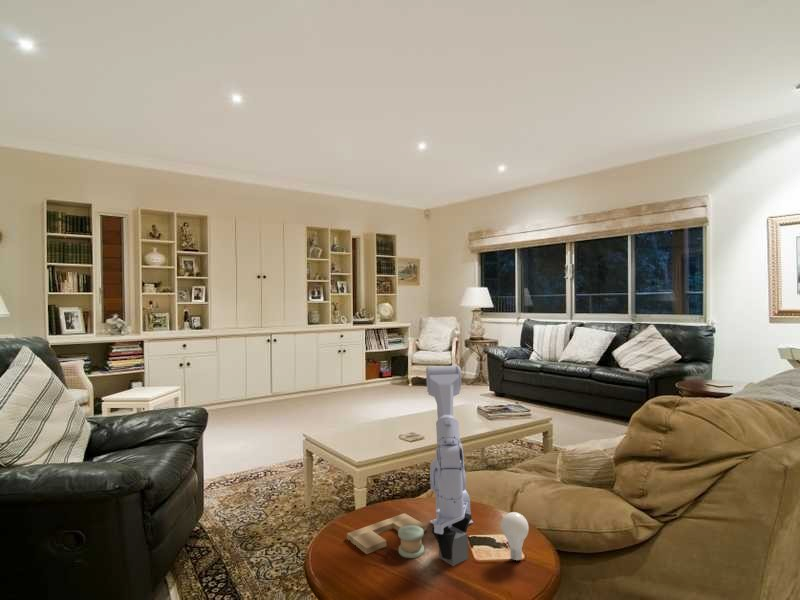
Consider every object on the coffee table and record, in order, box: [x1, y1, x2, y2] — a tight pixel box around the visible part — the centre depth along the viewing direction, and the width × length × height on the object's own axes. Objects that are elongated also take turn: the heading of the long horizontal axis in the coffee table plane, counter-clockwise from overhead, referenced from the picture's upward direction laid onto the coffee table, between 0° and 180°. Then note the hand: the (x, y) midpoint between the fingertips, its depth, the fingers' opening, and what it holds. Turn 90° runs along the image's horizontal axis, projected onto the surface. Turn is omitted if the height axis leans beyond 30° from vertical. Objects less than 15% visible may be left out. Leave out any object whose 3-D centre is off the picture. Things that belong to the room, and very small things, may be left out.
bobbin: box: [397, 525, 425, 559], centre depth 116 cm, size 6×6×5 cm
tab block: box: [438, 526, 469, 567], centre depth 113 cm, size 5×5×6 cm
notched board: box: [346, 512, 427, 555], centre depth 125 cm, size 19×10×2 cm, turn 125°
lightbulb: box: [500, 511, 530, 562], centre depth 111 cm, size 6×6×11 cm
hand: (453, 551), depth 113 cm, fingers closed on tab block, 6 cm apart
